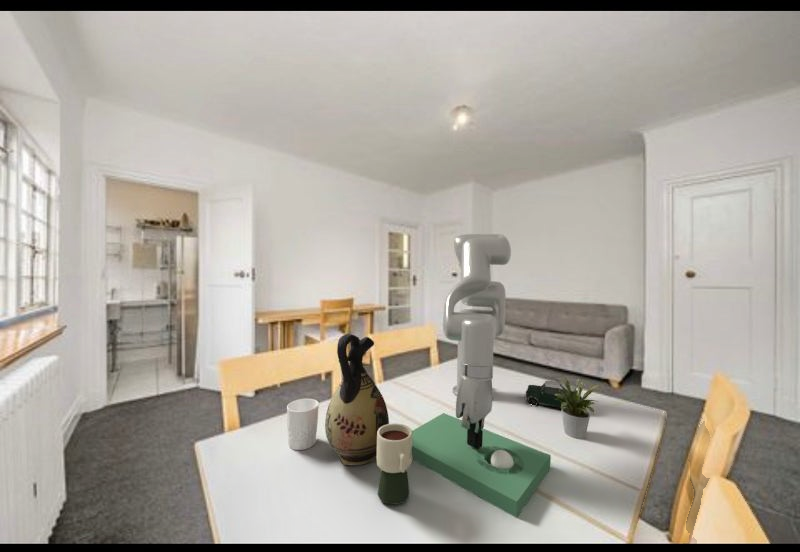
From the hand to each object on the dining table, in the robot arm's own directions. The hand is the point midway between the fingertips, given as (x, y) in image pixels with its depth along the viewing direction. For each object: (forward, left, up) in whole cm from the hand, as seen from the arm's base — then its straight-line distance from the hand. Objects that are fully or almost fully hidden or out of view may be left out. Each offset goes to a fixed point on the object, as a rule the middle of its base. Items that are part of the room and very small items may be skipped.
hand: (474, 445), depth 73 cm
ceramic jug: (+19, -22, -4) cm, 29 cm away
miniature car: (-48, +4, -4) cm, 48 cm away
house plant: (-31, +13, -4) cm, 34 cm away
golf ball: (0, +7, -1) cm, 7 cm away
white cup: (+25, -36, -4) cm, 44 cm away
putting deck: (0, -1, -4) cm, 4 cm away
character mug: (+22, -6, -4) cm, 23 cm away
